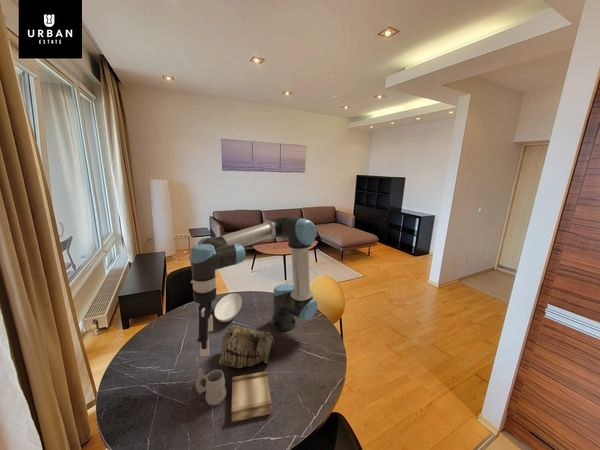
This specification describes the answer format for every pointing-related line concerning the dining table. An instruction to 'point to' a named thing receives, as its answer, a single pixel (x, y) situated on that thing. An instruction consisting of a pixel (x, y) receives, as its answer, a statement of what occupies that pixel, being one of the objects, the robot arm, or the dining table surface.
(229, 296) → the bowl
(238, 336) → the sculptural head
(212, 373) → the mug
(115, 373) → the dining table surface
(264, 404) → the plinth
